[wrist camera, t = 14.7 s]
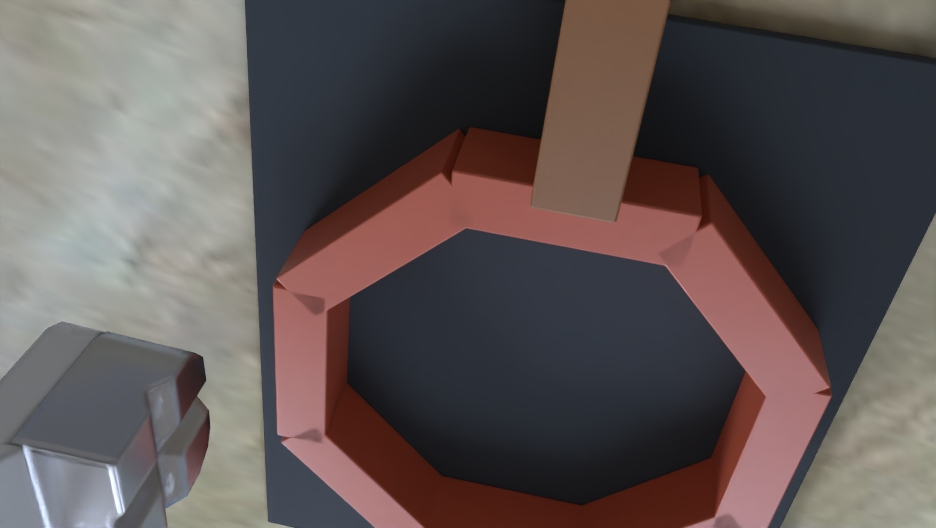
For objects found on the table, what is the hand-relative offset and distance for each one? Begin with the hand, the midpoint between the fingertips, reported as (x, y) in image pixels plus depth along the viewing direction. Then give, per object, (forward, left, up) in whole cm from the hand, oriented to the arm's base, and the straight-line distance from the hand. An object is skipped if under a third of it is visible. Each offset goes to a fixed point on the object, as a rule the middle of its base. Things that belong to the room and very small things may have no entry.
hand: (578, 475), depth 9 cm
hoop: (+9, 0, -14) cm, 17 cm away
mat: (+11, 0, -15) cm, 18 cm away
